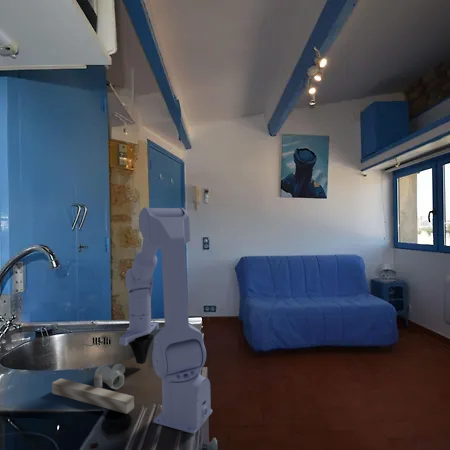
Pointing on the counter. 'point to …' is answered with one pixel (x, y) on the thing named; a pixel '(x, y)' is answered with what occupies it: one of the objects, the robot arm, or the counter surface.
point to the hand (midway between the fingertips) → (140, 362)
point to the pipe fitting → (112, 375)
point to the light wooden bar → (94, 394)
